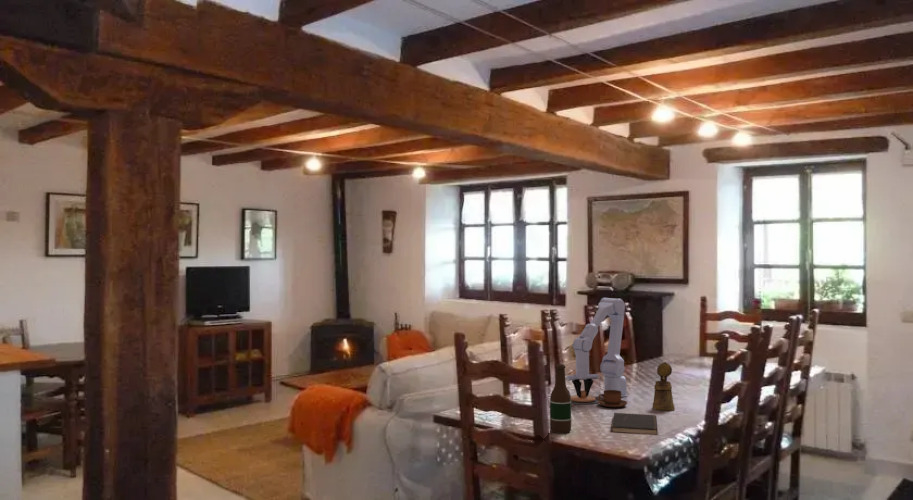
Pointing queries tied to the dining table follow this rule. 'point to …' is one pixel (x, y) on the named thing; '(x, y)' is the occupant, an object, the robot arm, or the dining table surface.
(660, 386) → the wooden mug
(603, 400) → the cup and saucer
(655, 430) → the hardcover book
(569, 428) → the beer bottle
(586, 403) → the coaster
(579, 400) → the lid
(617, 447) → the dining table surface
